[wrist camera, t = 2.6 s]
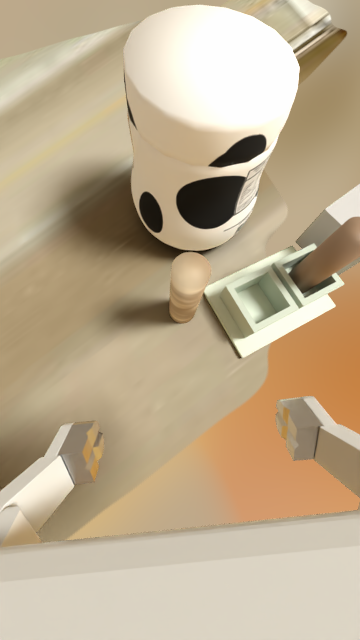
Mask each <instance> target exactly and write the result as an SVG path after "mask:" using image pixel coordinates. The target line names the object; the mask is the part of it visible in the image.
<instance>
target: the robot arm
mask: <svg viewBox="0 0 360 640" xmlns="http://www.w3.org/2000/svg"><path fill="white" fill-rule="evenodd" d="M276 407H277V409H278V413H277V414H276V425H277V428H278V431H279V433H280V435H281V437H282V438H284V439H285V440H286V447H287V449H288V451H289V453H290V455H291V457H292V459H293V460H294V461H295V460H308V459H314V460H315V461H316V462H317V463H318V464H320V465H321V466H322V467H323V468H324V469H326V470H327V471H328V472H329V473H330V474H332V475H333V476H334V477H335V478H336V479H338V480H339V481H340V482H341V483H342V484H344V485H345V486H346V487H347V488H349V489H350V490H351V491H352V492H353V493H355V494H356V495H357V496H358V497H359V498H360V435H359V434H357V433H356V432H354V431H352V430H350V429H348V428H346V427H344V426H342V425H337V424H336V423H335V422H334V421H333V419H332V418H331V417H330V416H329V415H328V413H327V412H326V411H325V410H324V409H323V407H322V406H321V405H320V404H319V403H318V401H317V400H316V399H315V398H314V397H313V396H307V397H300V398H291V399H283V400H278V401H277V404H276ZM99 429H100V425H99V422H98V421H87V422H75V423H66V424H63V425H62V426H61V427H60V429H59V431H58V432H57V434H56V436H55V438H54V440H53V441H52V443H51V445H50V447H49V449H48V450H47V452H46V454H45V456H44V457H40V458H39V459H38V460H37V461H36V462H34V463H33V464H32V465H31V466H30V467H28V468H27V469H26V470H25V471H24V472H22V473H21V474H20V475H19V476H18V477H16V478H15V479H14V480H13V481H12V482H11V483H9V484H8V485H7V486H6V487H5V488H3V489H2V490H1V491H0V640H360V503H359V507H358V510H354V511H345V512H335V513H325V514H316V515H307V516H297V517H287V518H277V519H269V520H258V521H248V522H239V523H229V524H219V525H211V526H201V527H191V528H181V529H172V530H162V531H153V532H143V533H133V534H124V535H114V536H105V537H95V538H85V539H75V540H66V541H56V542H46V543H42V541H41V540H40V538H39V537H38V535H37V534H36V533H37V532H38V531H39V530H40V528H41V527H42V526H43V525H44V523H45V522H46V521H47V520H48V518H49V517H50V516H51V515H52V513H53V512H54V511H55V510H56V509H57V507H58V506H59V505H60V504H61V502H62V501H63V500H64V499H65V497H66V496H67V495H68V494H69V492H70V491H71V490H72V489H73V487H74V485H77V484H84V483H91V482H95V479H96V475H97V472H98V469H99V464H98V462H97V461H98V460H99V459H100V458H101V457H102V455H103V452H104V444H105V442H104V436H103V434H102V433H101V432H99Z"/></svg>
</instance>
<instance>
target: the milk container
mask: <svg viewBox="0 0 360 640" xmlns="http://www.w3.org/2000/svg"><path fill="white" fill-rule="evenodd" d="M123 63H124V82H125V90H126V98H127V106H128V122H129V128H130V134H131V140H132V145H133V154H134V157H133V165H132V172H131V190H132V196H133V200H134V204H135V207H136V210H137V212H138V214H139V217H140V219H141V221H142V222H143V224H144V226H145V227H146V228H147V229H148V230H149V232H150V233H151V234H153V235H154V236H155V237H156V238H158V239H159V240H160V241H162V242H163V243H165V244H167V245H170V246H172V247H175V248H178V249H181V250H190V251H202V250H207V249H211V248H214V247H217V246H220V245H222V244H224V243H225V242H227V241H228V240H230V239H231V238H232V237H233V236H234V235H235V234H236V233H237V232H238V231H239V230H240V229H241V228H242V226H243V225H244V224H245V222H246V221H247V219H248V218H249V216H250V214H251V212H252V210H253V208H254V205H255V202H256V199H257V194H258V189H259V182H260V176H261V174H262V171H263V169H264V167H265V165H266V163H267V161H268V159H269V157H270V155H271V153H272V151H273V149H274V147H275V145H276V142H277V140H278V136H279V133H280V131H281V129H282V128H283V126H284V124H285V122H286V120H287V118H288V115H289V112H290V110H291V106H292V104H293V101H294V98H295V94H296V91H297V88H298V78H299V65H298V62H297V60H296V57H295V55H294V53H293V50H292V48H291V47H290V45H289V44H288V43H287V42H286V41H285V40H284V39H283V38H282V37H281V36H280V35H279V34H278V33H277V32H276V31H275V30H274V29H272V28H271V27H269V26H267V25H266V24H264V23H262V22H261V21H259V20H257V19H256V18H254V17H252V16H249V15H246V14H243V13H240V12H237V11H234V10H231V9H228V8H223V7H214V6H205V5H192V6H181V7H172V8H169V9H166V10H164V11H161V12H158V13H156V14H153V15H150V16H149V17H147V18H146V19H145V20H143V21H142V22H141V23H140V24H139V25H138V26H136V27H135V28H134V29H133V30H132V31H131V33H130V35H129V38H128V40H127V42H126V45H125V47H124V53H123Z"/></svg>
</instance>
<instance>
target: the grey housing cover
mask: <svg viewBox="0 0 360 640" xmlns="http://www.w3.org/2000/svg"><path fill="white" fill-rule="evenodd" d="M352 217H360V184H359V185H358V186H356V187H355V188H353V189H352V190H351V191H349V192H348V193H346V194H345V195H344V196H342V197H341V198H340V199H338V200H337V201H335V202H334V203H333V204H331V205H330V206H329V207H328V208H326V209H325V210H324V211H323V212H322V213H321V214H320V215H319V216H318V217H317V218H316V219H315V221H314V222H313V223H312V224H311V225H310V226H309V227H308V228H307V229H306V230H305V232H304V233H303V234H302V235H301V236H300V237H299V238H298V239H297V241H296V243H297V244H298V245H299V246H300V247H301V248H302V249H303V248H305V247H307V246H309V245H311V244H313V243H314V244H315V245H316V247H318V246H319V245H320V244H322V243H323V242H324V241H325V240H326V239H327V238H328V237H329V236H330V235H331V234H333V233H334V232H335V231H336V230H337V229H338V228H339V227H340V226H341V225H343V224H344V223H345V222H346V221H347V220H348V219H350V218H352ZM359 262H360V257H359V258H357V259H356V260H354V261H353V262H351V263H350V264H348V265H347V266H345V267H344V268H342V269H340V270H339V271H337V272H336V273H337V275H340V274H341V273H343V272H344V271H346V270H347V269H349V268H351V267H352V266H354V265H355V264H357V263H359Z"/></svg>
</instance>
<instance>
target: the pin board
mask: <svg viewBox="0 0 360 640" xmlns="http://www.w3.org/2000/svg"><path fill="white" fill-rule="evenodd" d="M359 257H360V217H352V218H350V219H348V220H347V221H346V222H345V223H344V224H343V225H341V226H340V227H339V228H338V229H337V230H336V231H335V232H334V233H333V234H331V235H330V236H329V237H328V238H327V239H326V240H325V241H324V242H323V243H322V244H320V245H319V246H318V247H316V245H315V244H314V243H313V244H311V245H309V246H307V247H305V248H303V249H301V250H299V251H296V250H295V249H294V247H293V246H291V247H288V248H287V249H284V250H282V251H280V252H278V253H276V254H274V255H272V256H270V257H267V258H265V259H263V260H261V261H259V262H257V263H255V264H253V265H250V266H248V267H246V268H244V269H242V270H240V271H238V272H236V273H234V274H231V275H229V276H227V277H225V278H223V279H221V280H219V281H217V282H215V283H213V284H210V285H208V286H206V288H205V290H204V295H205V297H206V298H207V300H208V302H209V303H210V305H211V307H212V309H213V310H214V312H215V314H216V315H217V317H218V319H219V321H220V322H221V324H222V326H223V327H224V329H225V331H226V333H227V334H228V336H229V338H230V339H231V341H232V343H233V345H234V346H235V348H236V350H237V351H238V353H239V355H240V357H241V358H244V357H245V356H247V355H249V354H251V353H253V352H254V351H256V350H258V349H260V348H262V347H263V346H265V345H267V344H269V343H271V342H272V341H274V340H276V339H278V338H280V337H281V336H283V335H285V334H287V333H288V332H290V331H292V330H294V329H296V328H298V327H299V326H301V325H303V324H305V323H307V322H308V321H310V320H312V319H314V318H315V317H317V316H319V315H321V314H323V313H324V312H326V311H328V310H330V309H332V308H333V307H335V304H334V303H333V301H332V300H331V299H330V297H329V296H328V293H330V292H332V291H333V290H335V289H337V288H339V287H340V286H342V285H344V283H343V281H342V280H341V279H340V278H339V276H338V275H337V273H336V272H337V271H339V270H340V269H342V268H344V267H345V266H347V265H348V264H350V263H351V262H353V261H354V260H356V259H357V258H359Z"/></svg>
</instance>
